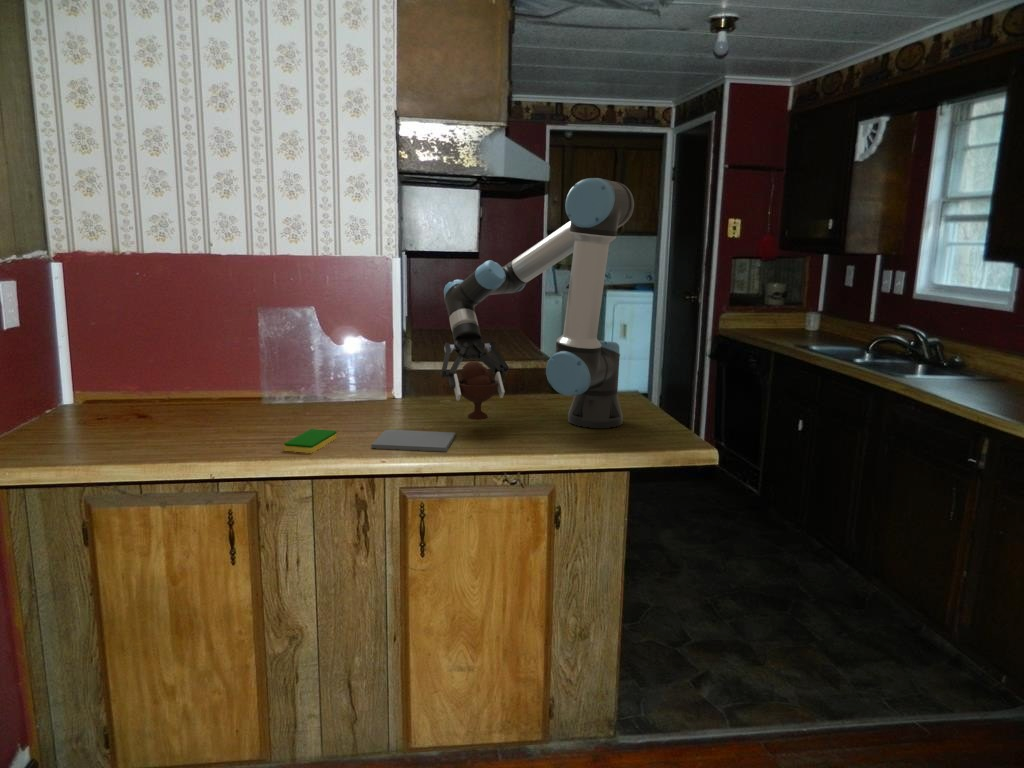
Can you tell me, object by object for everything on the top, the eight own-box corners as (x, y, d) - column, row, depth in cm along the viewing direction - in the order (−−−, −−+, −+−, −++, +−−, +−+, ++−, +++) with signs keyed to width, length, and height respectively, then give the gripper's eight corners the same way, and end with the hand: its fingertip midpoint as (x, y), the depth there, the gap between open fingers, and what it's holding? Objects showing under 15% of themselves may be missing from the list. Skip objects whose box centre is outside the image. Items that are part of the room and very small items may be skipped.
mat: (455, 436, 190) (455, 432, 190) (445, 451, 176) (445, 447, 176) (385, 433, 192) (385, 429, 191) (371, 448, 178) (371, 444, 178)
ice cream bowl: (493, 423, 190) (493, 365, 187) (451, 420, 192) (451, 363, 189) (502, 413, 200) (502, 358, 197) (462, 411, 202) (462, 357, 199)
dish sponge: (283, 453, 174) (283, 443, 174) (310, 438, 187) (310, 428, 187) (312, 455, 173) (311, 445, 172) (337, 440, 186) (337, 430, 186)
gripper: (503, 336, 210) (520, 401, 199) (421, 339, 203) (434, 406, 192) (509, 319, 204) (527, 385, 193) (425, 321, 197) (438, 390, 186)
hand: (480, 396), depth 192 cm, fingers closed on ice cream bowl, 11 cm apart
